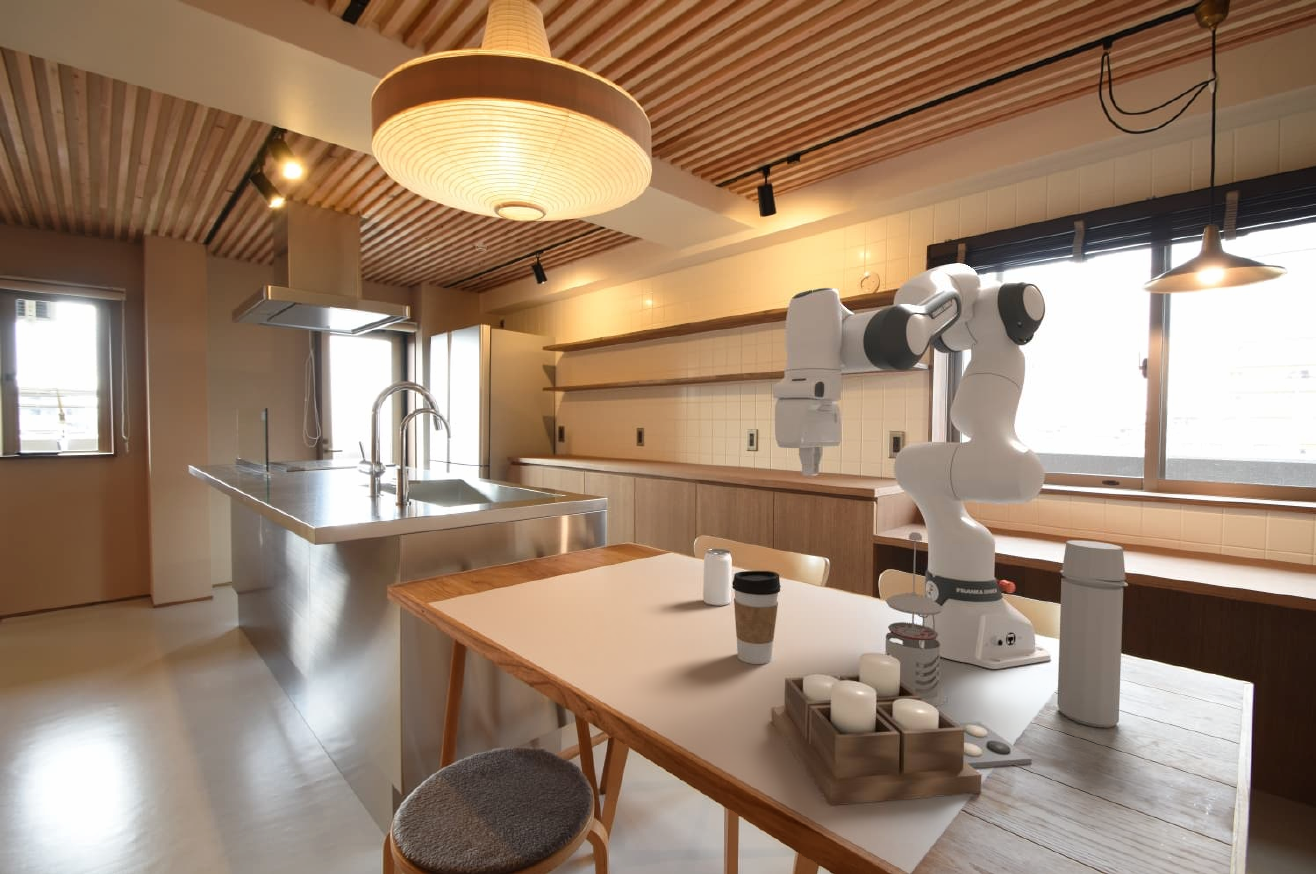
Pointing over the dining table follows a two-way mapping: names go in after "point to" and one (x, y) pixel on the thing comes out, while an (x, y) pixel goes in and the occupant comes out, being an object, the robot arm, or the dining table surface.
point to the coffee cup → (755, 614)
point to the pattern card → (989, 747)
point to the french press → (916, 642)
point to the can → (717, 577)
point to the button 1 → (818, 687)
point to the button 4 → (915, 714)
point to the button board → (874, 751)
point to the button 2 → (853, 707)
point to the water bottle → (1091, 632)
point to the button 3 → (880, 674)
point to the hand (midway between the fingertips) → (810, 475)
